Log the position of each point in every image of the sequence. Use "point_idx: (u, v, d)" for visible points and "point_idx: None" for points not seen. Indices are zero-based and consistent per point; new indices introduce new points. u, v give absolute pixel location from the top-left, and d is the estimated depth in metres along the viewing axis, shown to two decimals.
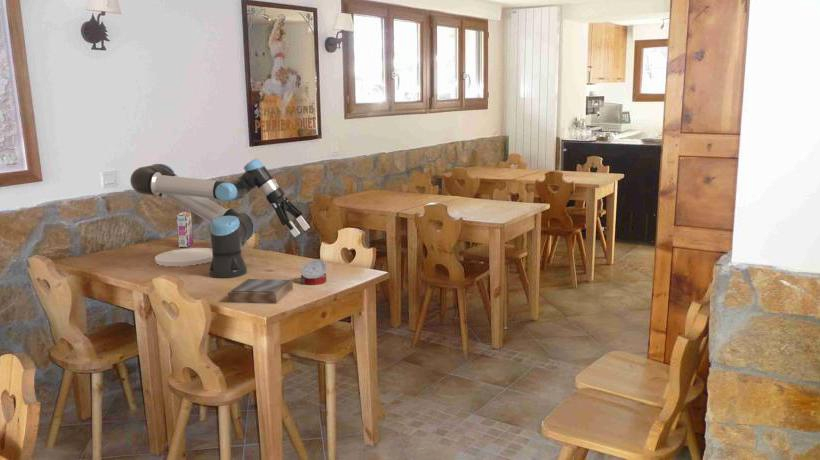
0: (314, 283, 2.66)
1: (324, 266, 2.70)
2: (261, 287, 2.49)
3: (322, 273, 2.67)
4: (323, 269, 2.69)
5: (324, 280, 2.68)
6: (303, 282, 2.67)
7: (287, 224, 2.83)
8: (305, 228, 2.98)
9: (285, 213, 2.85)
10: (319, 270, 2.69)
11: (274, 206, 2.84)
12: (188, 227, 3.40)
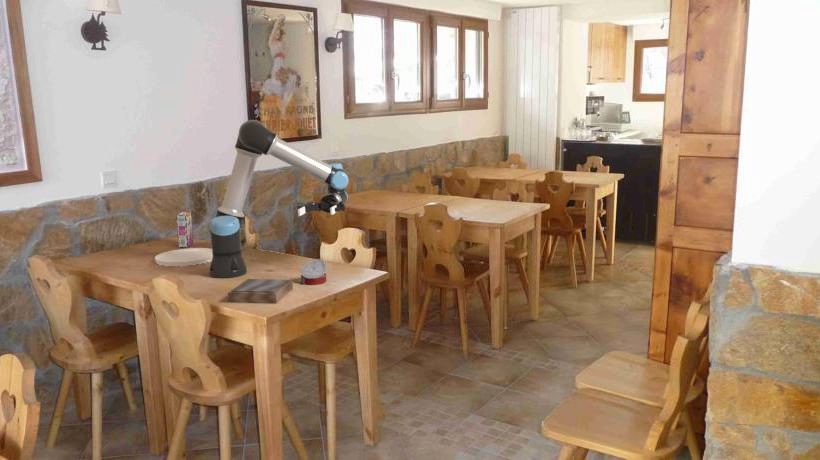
0: (314, 283, 2.66)
1: (324, 266, 2.70)
2: (261, 287, 2.49)
3: (322, 273, 2.67)
4: (323, 269, 2.69)
5: (324, 280, 2.68)
6: (303, 282, 2.67)
7: (339, 208, 2.79)
8: (300, 211, 2.77)
9: None
10: (319, 270, 2.69)
11: None
12: (188, 227, 3.40)
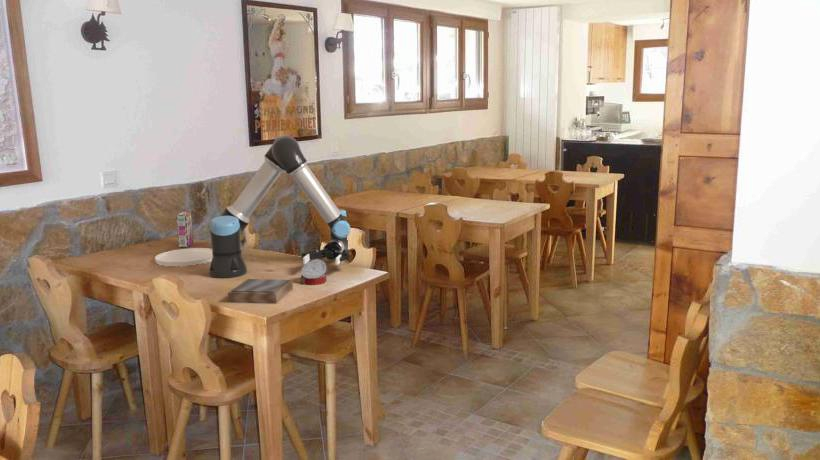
0: (314, 283, 2.66)
1: (324, 266, 2.70)
2: (261, 287, 2.49)
3: (322, 273, 2.67)
4: (323, 269, 2.69)
5: (324, 280, 2.68)
6: (303, 282, 2.67)
7: (343, 258, 2.81)
8: (305, 259, 2.78)
9: None
10: (319, 270, 2.69)
11: (345, 251, 2.90)
12: (188, 227, 3.40)
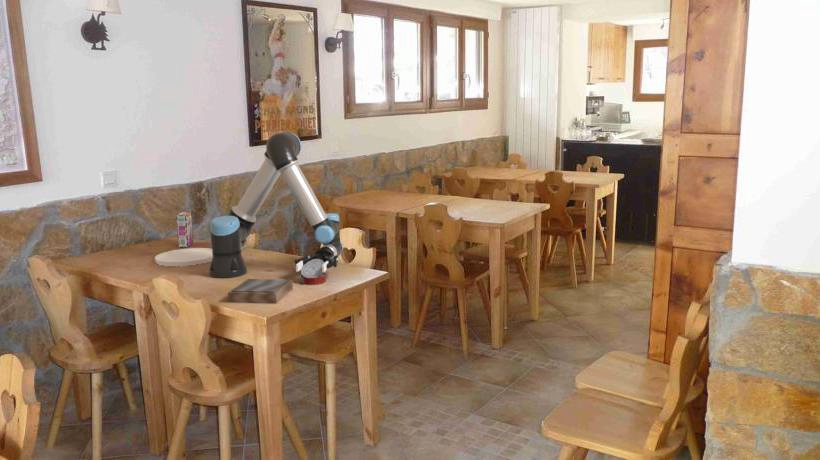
0: (314, 283, 2.65)
1: None
2: (261, 287, 2.49)
3: (322, 273, 2.67)
4: None
5: (324, 280, 2.68)
6: (303, 282, 2.67)
7: (331, 264, 2.70)
8: (298, 266, 2.66)
9: None
10: (318, 269, 2.69)
11: (337, 258, 2.79)
12: (188, 227, 3.40)
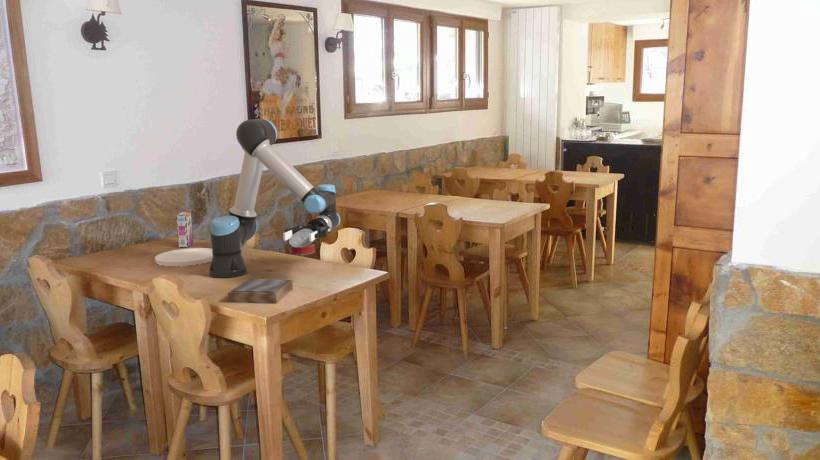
0: (301, 252, 2.58)
1: None
2: (261, 287, 2.49)
3: (310, 242, 2.59)
4: None
5: (312, 250, 2.60)
6: (290, 251, 2.60)
7: (320, 234, 2.61)
8: (286, 235, 2.59)
9: None
10: (307, 239, 2.61)
11: (329, 228, 2.70)
12: (188, 227, 3.40)
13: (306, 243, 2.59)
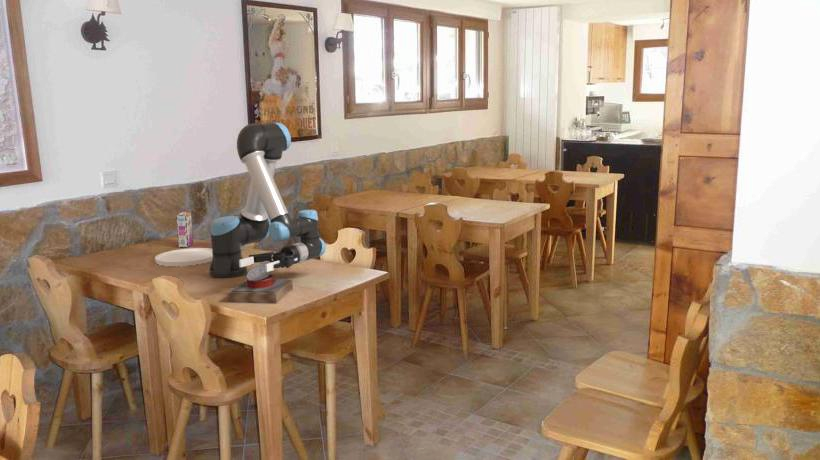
0: (254, 286, 2.48)
1: None
2: None
3: (264, 276, 2.48)
4: (268, 272, 2.50)
5: (267, 284, 2.49)
6: (247, 283, 2.51)
7: (281, 264, 2.48)
8: (241, 262, 2.52)
9: None
10: (264, 272, 2.50)
11: (295, 258, 2.57)
12: (188, 227, 3.40)
13: (261, 277, 2.48)
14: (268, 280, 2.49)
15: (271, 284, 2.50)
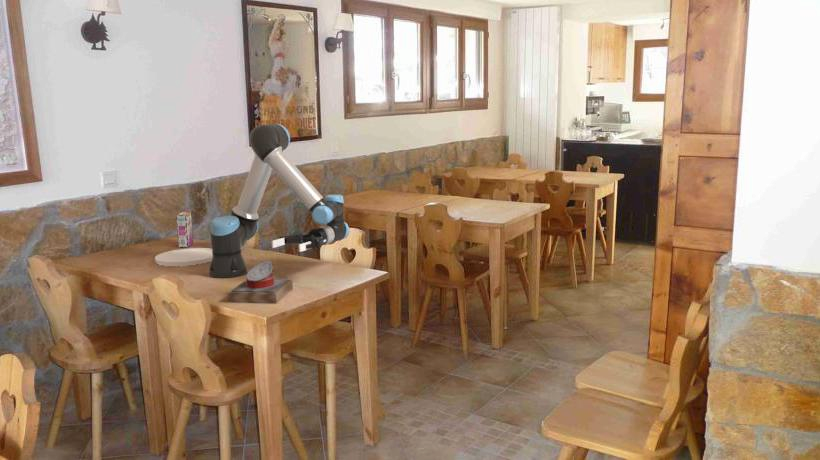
0: (254, 286, 2.48)
1: (270, 268, 2.50)
2: None
3: (264, 276, 2.48)
4: (268, 272, 2.50)
5: (267, 284, 2.49)
6: (247, 283, 2.51)
7: (312, 245, 2.62)
8: (274, 243, 2.65)
9: None
10: (264, 272, 2.50)
11: (324, 239, 2.71)
12: (188, 227, 3.40)
13: (261, 277, 2.48)
14: (268, 280, 2.49)
15: (271, 284, 2.50)
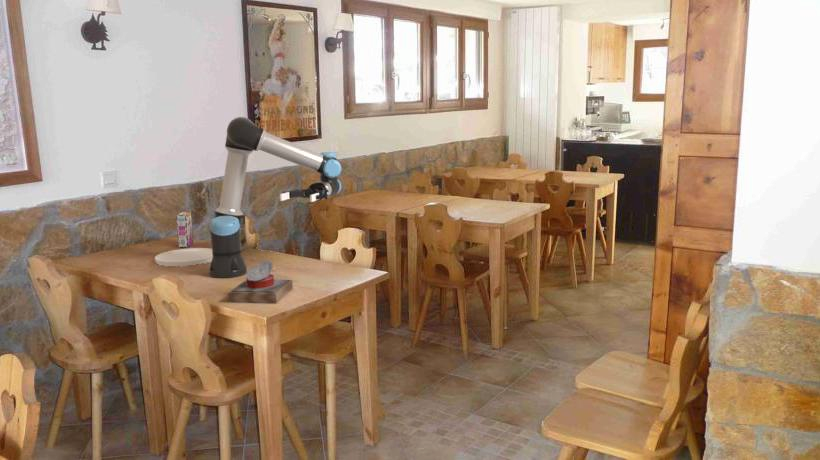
0: (254, 286, 2.48)
1: (270, 268, 2.50)
2: None
3: (264, 276, 2.48)
4: (268, 272, 2.50)
5: (267, 284, 2.49)
6: (247, 283, 2.51)
7: (321, 196, 2.77)
8: (282, 196, 2.77)
9: None
10: (264, 272, 2.50)
11: (327, 192, 2.86)
12: (188, 227, 3.40)
13: (261, 277, 2.48)
14: (268, 280, 2.49)
15: (271, 284, 2.50)
